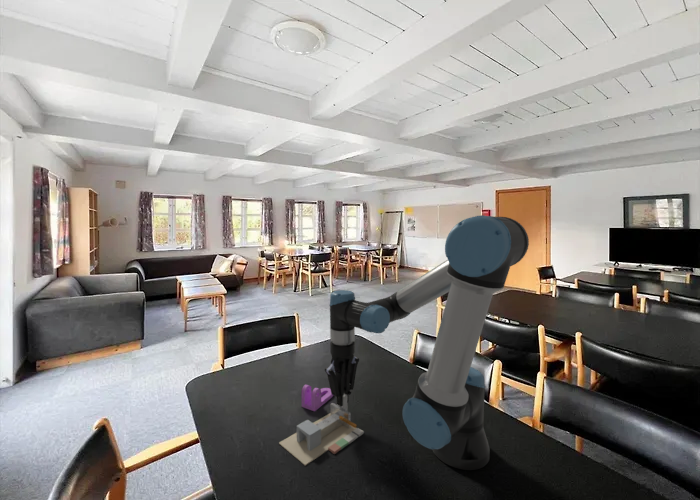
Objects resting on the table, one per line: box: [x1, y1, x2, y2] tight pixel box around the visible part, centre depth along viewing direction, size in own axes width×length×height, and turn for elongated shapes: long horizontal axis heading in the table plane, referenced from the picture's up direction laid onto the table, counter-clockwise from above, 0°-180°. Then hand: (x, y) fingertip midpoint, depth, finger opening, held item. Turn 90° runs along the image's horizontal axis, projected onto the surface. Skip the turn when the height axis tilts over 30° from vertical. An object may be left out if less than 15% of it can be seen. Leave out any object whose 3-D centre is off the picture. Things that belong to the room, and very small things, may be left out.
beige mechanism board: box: [278, 413, 365, 467], centre depth 92 cm, size 14×20×5 cm
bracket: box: [300, 384, 334, 412], centre depth 112 cm, size 13×6×7 cm, turn 149°
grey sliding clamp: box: [304, 402, 358, 442], centre depth 93 cm, size 12×14×5 cm
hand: (342, 413), depth 100 cm, fingers closed
